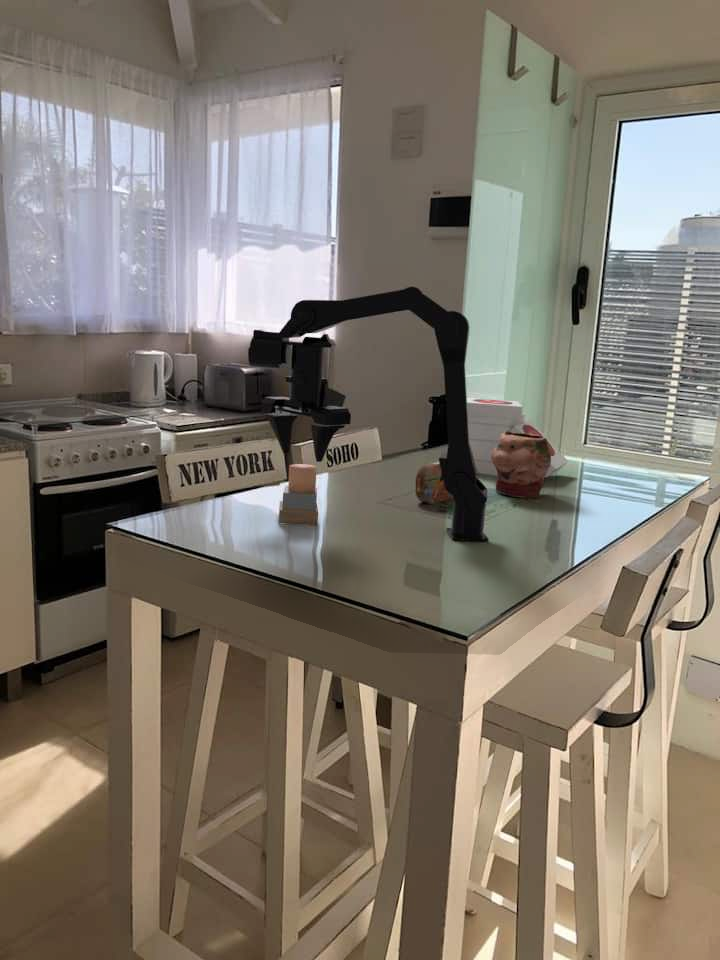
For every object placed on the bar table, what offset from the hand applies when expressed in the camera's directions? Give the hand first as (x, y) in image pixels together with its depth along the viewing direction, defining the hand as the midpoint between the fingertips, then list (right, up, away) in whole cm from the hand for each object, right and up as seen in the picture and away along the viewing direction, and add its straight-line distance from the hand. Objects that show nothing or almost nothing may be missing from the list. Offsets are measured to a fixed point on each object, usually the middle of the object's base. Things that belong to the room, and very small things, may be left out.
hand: (302, 457), depth 145 cm
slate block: (-1, -9, +2) cm, 9 cm away
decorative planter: (+48, -7, +39) cm, 62 cm away
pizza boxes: (+49, -2, +66) cm, 82 cm away
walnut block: (-1, -12, +2) cm, 12 cm away
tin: (+27, -9, +26) cm, 39 cm away
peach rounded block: (0, -6, +1) cm, 6 cm away
